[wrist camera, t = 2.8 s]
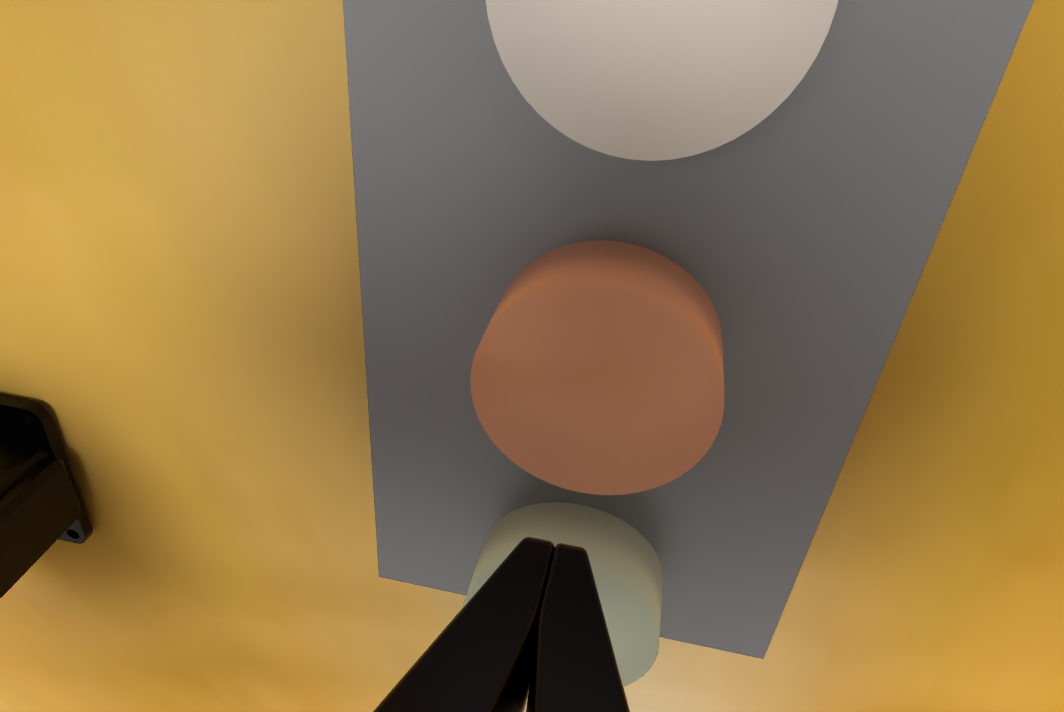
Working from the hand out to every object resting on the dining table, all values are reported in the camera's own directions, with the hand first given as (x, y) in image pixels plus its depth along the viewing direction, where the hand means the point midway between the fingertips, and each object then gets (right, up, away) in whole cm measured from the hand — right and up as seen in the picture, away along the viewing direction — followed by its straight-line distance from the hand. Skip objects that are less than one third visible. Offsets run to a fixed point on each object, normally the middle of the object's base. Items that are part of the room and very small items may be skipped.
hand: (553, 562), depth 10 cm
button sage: (+1, -2, +8) cm, 8 cm away
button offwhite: (+2, +8, +1) cm, 9 cm away
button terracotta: (+1, +3, +4) cm, 5 cm away
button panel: (+2, +5, +8) cm, 10 cm away
